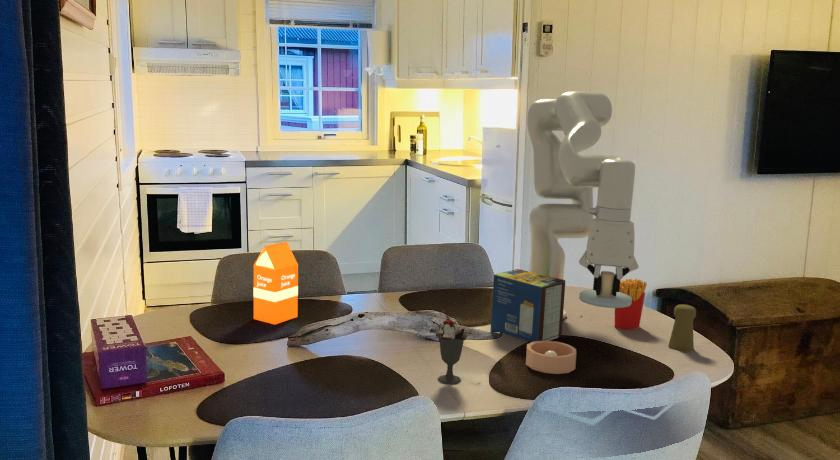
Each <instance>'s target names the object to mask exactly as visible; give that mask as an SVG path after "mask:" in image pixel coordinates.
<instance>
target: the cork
mask: <svg viewBox="0 0 840 460" xmlns="http://www.w3.org/2000/svg"><path fill="white" fill-rule="evenodd" d="M673 316H674V317H675V319H674V323H673V326H672V330H671V333H670V338H669V342H668V349H671V350H673V351H678V352H681V353H691V352H694V351H695V350H694V349H695V348H694V346H695V345H694V344H695V343H694V319H695V318H696V316H697V309H696V307H694V306H692V305H689V304H677V305H676V306H675V307H674V308H673Z"/></svg>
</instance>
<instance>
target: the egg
mask: <svg viewBox="0 0 840 460" xmlns="http://www.w3.org/2000/svg"><path fill="white" fill-rule="evenodd" d="M544 355H551V356H558V355H557V353H556V352H554V351H551V350H550V351H547V352H546V353H545V354H544Z"/></svg>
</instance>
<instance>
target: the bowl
mask: <svg viewBox="0 0 840 460" xmlns="http://www.w3.org/2000/svg"><path fill="white" fill-rule="evenodd" d="M550 350H551V351H554V352H556V353H557V355H558V356H551V355H544V354H545V353H546V352H547V351H550ZM525 356H526V357H525V365H526V366H527V367H528V368H530V369H531V370H534V371H537V372H540V373H544V374H552V375H553V374H554V375H555V374H556V375H561V374H569V373H571V372H572V371H574V370H576V364H577V348H575V347H574V346H572V345H570V344H567V343H564V342H560V341H555V340H549V341H545V340H544V341H533V342H529V343H527V344H526V355H525Z"/></svg>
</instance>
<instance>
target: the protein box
mask: <svg viewBox="0 0 840 460" xmlns="http://www.w3.org/2000/svg"><path fill="white" fill-rule="evenodd" d="M492 283H493V285H492V286H493V287H492V298H491V301H492V302H491V318H490V319H491V320H490V333H493V332H500V334H499V335H501V334H505V335H507V336H511V337H514V338H517V339H520V340H522V341H526V342H529V343H531V342H533V341H544V340H545V341H553V340H555V339H558V338H561V337H562V336H563V321H564V318H563V309H564V307H565V294H566V279H564V278H563V279H558V278H554V277H549V276H545V275H541V274H537V273H533V272H529V271H527V270H523V269H520V268H516V269H512V270H508V271H502V272H499V273H494V274H493V282H492Z"/></svg>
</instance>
